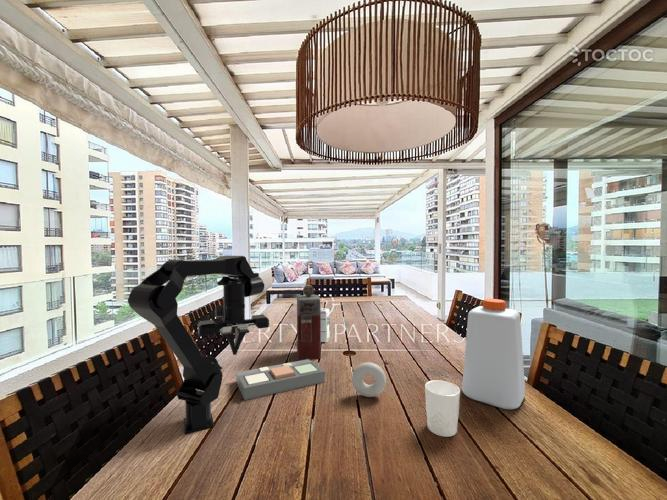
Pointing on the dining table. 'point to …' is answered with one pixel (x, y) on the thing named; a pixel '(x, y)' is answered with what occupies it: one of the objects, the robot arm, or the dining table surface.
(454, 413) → the white cup
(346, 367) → the dining table surface
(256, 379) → the ivory key
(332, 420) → the dining table surface
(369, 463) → the dining table surface
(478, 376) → the plastic bottle
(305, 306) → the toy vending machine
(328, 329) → the syrup box
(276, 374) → the terracotta key
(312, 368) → the sage key
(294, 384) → the keypad
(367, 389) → the donut
